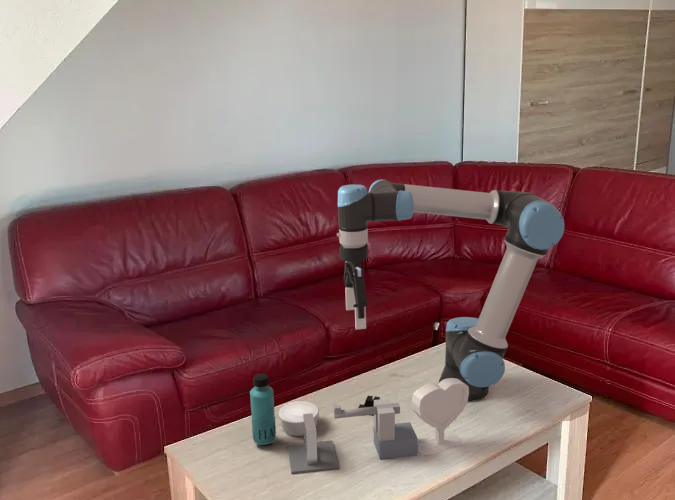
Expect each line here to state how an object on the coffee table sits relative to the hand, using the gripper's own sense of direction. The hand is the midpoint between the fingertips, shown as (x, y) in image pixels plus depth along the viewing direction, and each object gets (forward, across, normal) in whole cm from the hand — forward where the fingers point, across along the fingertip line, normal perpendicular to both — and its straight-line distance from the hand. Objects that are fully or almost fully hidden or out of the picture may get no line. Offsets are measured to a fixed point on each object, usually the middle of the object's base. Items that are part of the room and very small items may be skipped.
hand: (355, 318), depth 183 cm
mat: (+31, +16, -16) cm, 38 cm away
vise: (+31, +16, +1) cm, 35 cm away
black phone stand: (+32, -4, +5) cm, 32 cm away
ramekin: (+31, +1, -17) cm, 36 cm away
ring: (+30, +16, -16) cm, 38 cm away
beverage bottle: (+31, +7, -27) cm, 42 cm away
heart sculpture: (+32, +17, +19) cm, 40 cm away
